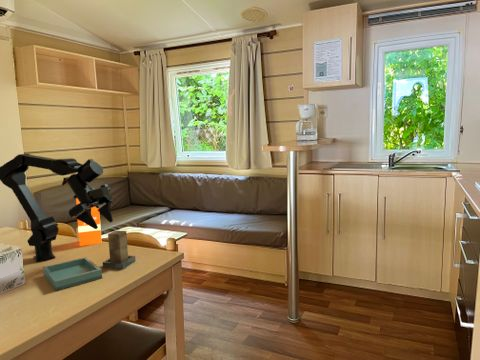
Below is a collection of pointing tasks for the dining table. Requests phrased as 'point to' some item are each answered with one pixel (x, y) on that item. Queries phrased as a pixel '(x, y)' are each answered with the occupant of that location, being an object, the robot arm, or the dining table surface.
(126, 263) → the grey square bin
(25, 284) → the dining table surface
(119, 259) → the plate
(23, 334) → the dining table surface
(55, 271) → the tray
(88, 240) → the orange juice
